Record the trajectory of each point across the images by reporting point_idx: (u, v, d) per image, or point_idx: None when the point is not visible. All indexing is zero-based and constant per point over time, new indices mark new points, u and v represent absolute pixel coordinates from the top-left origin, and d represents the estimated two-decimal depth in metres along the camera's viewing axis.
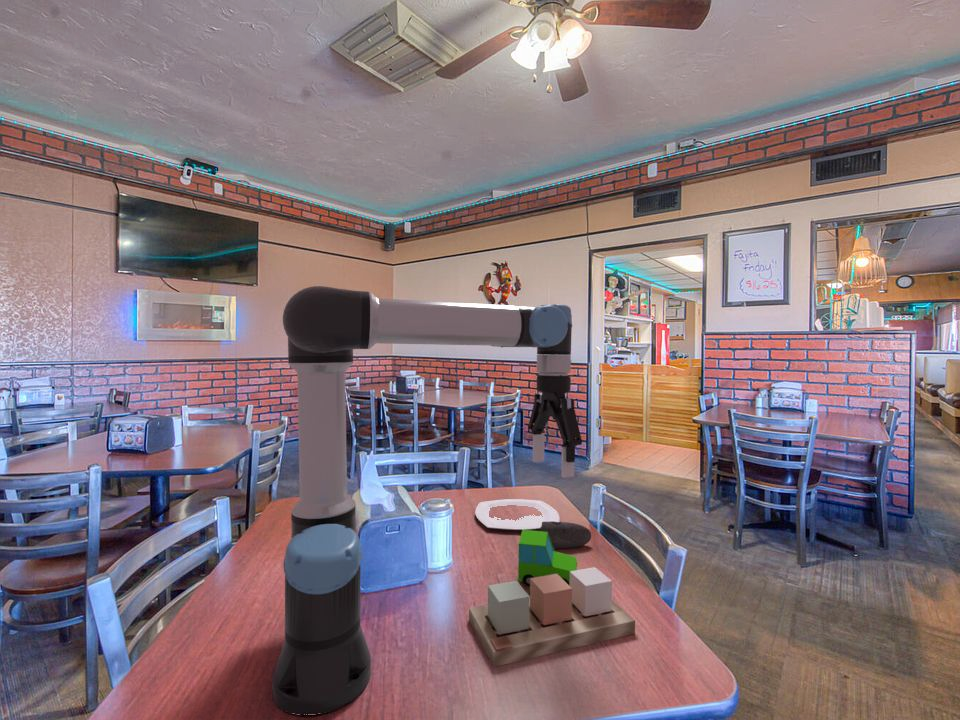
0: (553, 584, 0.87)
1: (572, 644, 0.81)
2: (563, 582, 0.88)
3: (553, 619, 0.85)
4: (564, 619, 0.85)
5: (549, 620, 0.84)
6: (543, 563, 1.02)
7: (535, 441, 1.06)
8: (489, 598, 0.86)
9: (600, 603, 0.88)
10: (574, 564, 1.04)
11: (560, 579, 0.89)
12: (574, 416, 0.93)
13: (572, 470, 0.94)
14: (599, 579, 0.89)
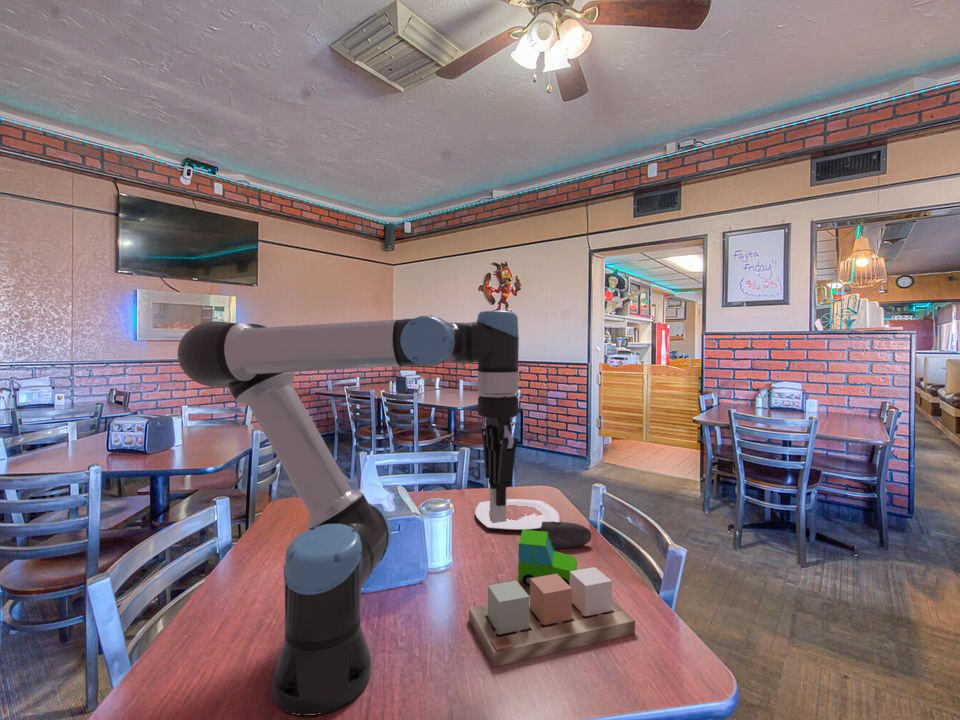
0: (553, 584, 0.87)
1: (572, 644, 0.81)
2: (563, 582, 0.88)
3: (553, 619, 0.85)
4: (564, 619, 0.85)
5: (549, 620, 0.84)
6: (543, 563, 1.02)
7: None
8: (489, 598, 0.86)
9: (600, 603, 0.88)
10: (574, 564, 1.04)
11: (560, 579, 0.89)
12: (512, 458, 0.79)
13: (504, 514, 0.83)
14: (599, 579, 0.89)
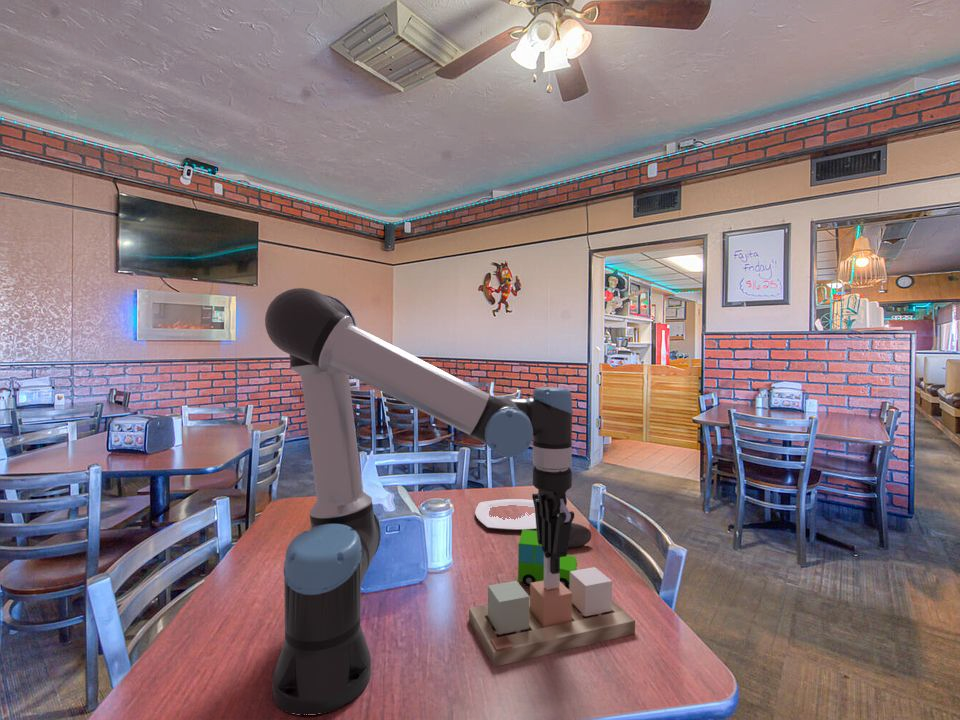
0: (553, 589, 0.87)
1: (572, 644, 0.81)
2: (563, 587, 0.88)
3: (552, 624, 0.85)
4: None
5: (549, 625, 0.84)
6: (543, 563, 1.02)
7: None
8: (489, 598, 0.86)
9: (600, 603, 0.88)
10: (574, 564, 1.04)
11: (560, 584, 0.89)
12: (568, 531, 0.83)
13: (557, 580, 0.87)
14: (599, 579, 0.89)
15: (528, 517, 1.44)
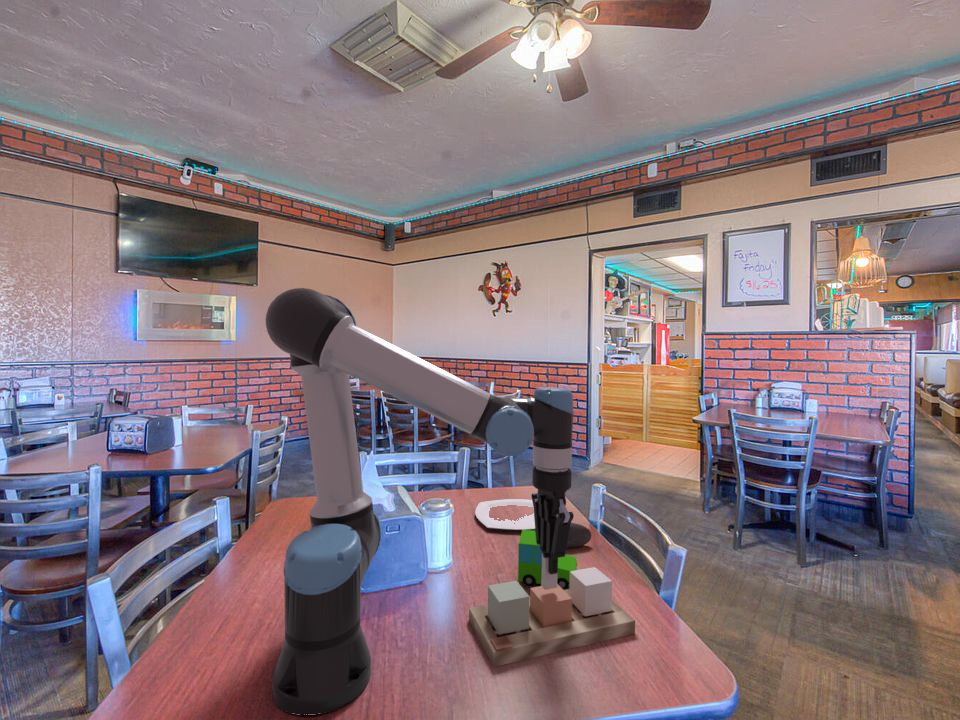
0: (553, 594, 0.87)
1: (572, 644, 0.81)
2: (563, 592, 0.88)
3: None
4: None
5: None
6: None
7: None
8: (489, 598, 0.86)
9: (600, 603, 0.88)
10: (574, 564, 1.04)
11: (559, 589, 0.89)
12: (567, 531, 0.83)
13: (555, 581, 0.87)
14: (599, 579, 0.89)
15: (528, 517, 1.44)
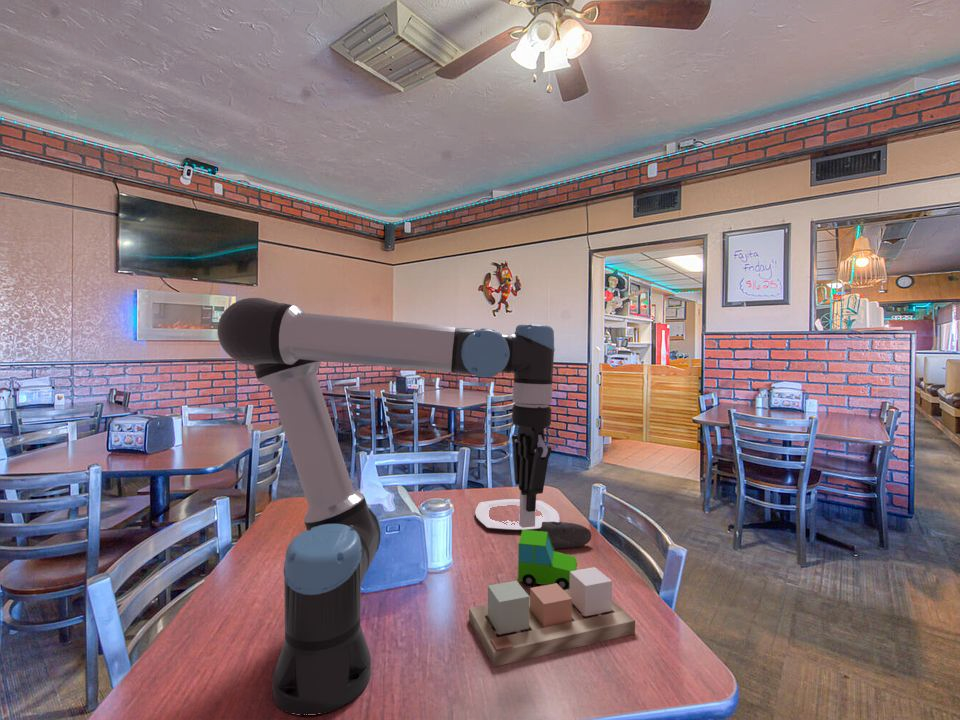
0: (553, 594, 0.87)
1: (572, 644, 0.81)
2: (563, 592, 0.88)
3: None
4: None
5: None
6: (543, 563, 1.02)
7: None
8: (489, 598, 0.86)
9: (600, 603, 0.88)
10: (574, 564, 1.04)
11: (559, 589, 0.89)
12: (545, 466, 0.83)
13: (533, 519, 0.87)
14: (599, 579, 0.89)
15: None
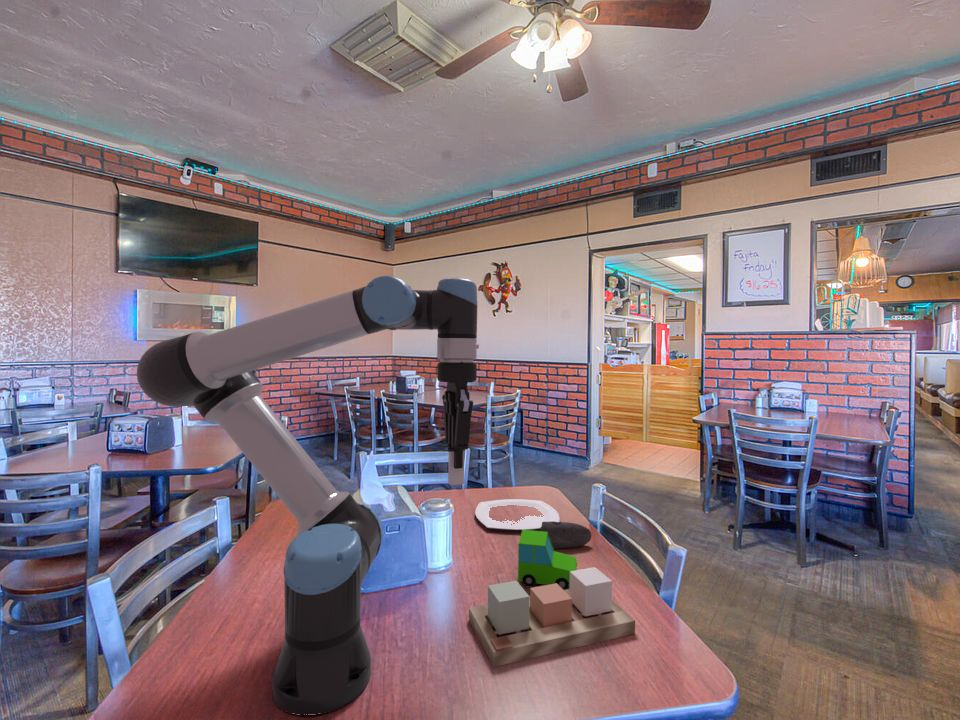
0: (553, 594, 0.87)
1: (572, 644, 0.81)
2: (563, 592, 0.88)
3: None
4: None
5: None
6: (543, 563, 1.02)
7: None
8: (489, 598, 0.86)
9: (600, 603, 0.88)
10: (574, 564, 1.04)
11: (559, 589, 0.89)
12: (468, 421, 0.82)
13: (461, 477, 0.86)
14: (599, 579, 0.89)
15: (528, 517, 1.44)
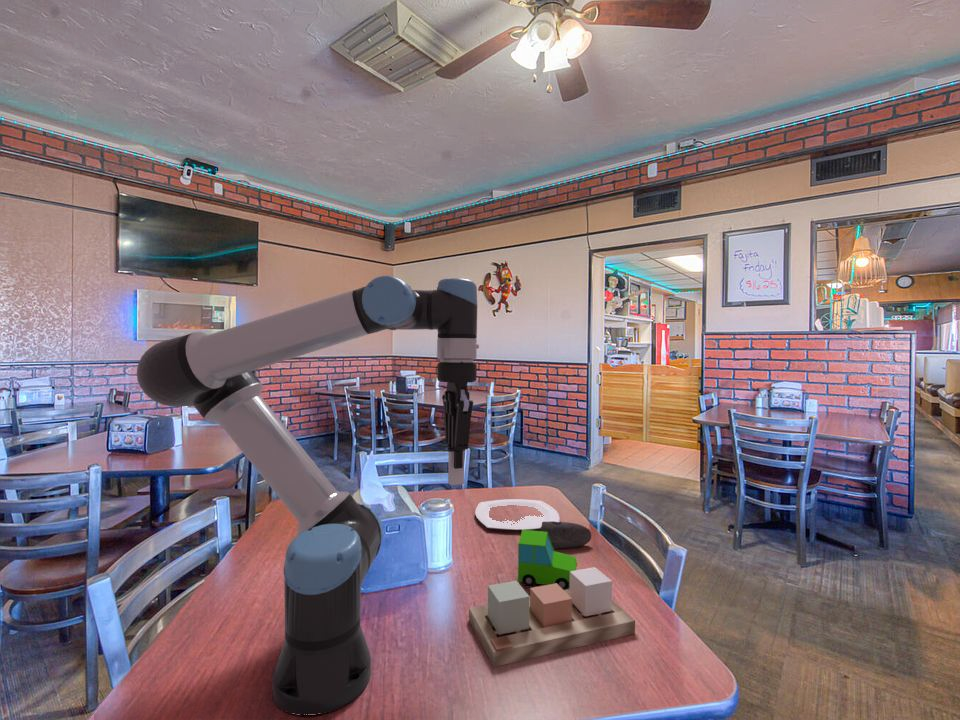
0: (553, 594, 0.87)
1: (572, 644, 0.81)
2: (563, 592, 0.88)
3: None
4: None
5: None
6: (543, 563, 1.02)
7: None
8: (489, 598, 0.86)
9: (600, 603, 0.88)
10: (574, 564, 1.04)
11: (559, 589, 0.89)
12: (468, 421, 0.82)
13: (461, 477, 0.86)
14: (599, 579, 0.89)
15: (528, 517, 1.44)
